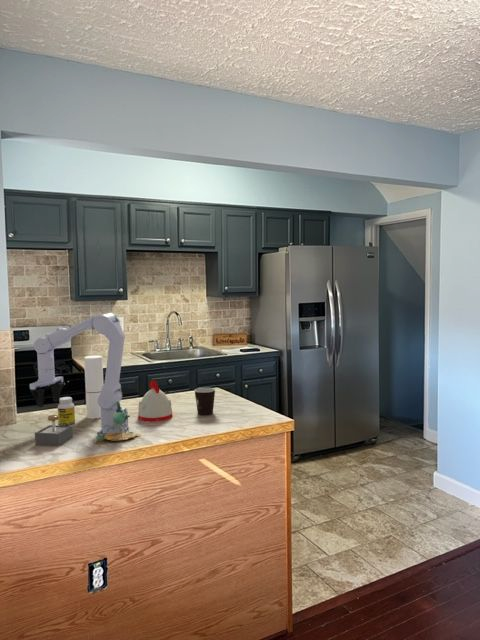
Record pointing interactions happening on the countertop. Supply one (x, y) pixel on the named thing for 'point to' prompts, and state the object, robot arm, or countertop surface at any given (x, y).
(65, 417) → the pill bottle
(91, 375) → the cylindrical container
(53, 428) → the plunger
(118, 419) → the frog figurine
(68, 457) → the countertop surface
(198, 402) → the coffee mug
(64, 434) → the gray open box
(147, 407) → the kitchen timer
